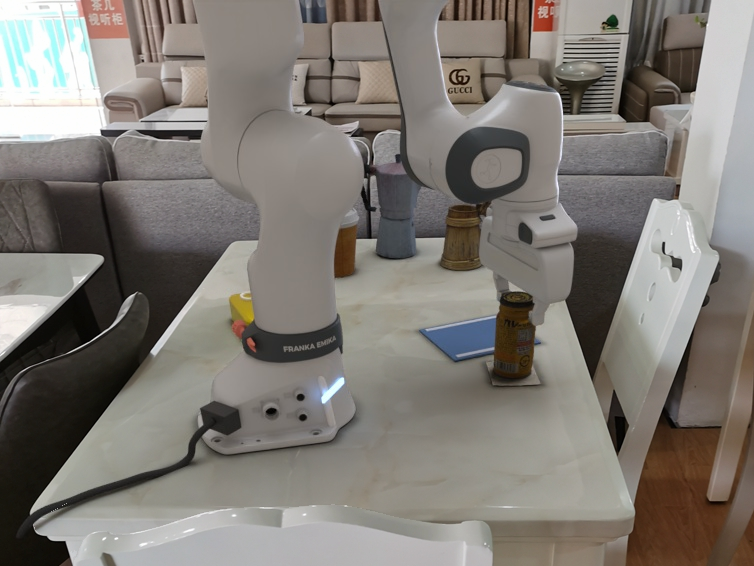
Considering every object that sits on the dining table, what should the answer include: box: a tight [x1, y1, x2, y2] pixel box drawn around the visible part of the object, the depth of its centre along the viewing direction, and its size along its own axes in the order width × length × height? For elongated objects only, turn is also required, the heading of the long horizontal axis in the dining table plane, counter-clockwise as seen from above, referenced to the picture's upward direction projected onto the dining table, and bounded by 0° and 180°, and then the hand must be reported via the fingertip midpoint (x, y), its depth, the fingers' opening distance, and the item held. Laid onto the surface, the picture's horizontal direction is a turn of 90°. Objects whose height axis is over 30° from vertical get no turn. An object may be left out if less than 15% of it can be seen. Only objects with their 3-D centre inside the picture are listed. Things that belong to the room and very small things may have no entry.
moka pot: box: [360, 153, 422, 259], centre depth 165 cm, size 10×15×20 cm, turn 89°
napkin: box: [418, 314, 542, 363], centre depth 133 cm, size 16×14×1 cm
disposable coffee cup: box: [334, 207, 360, 278], centre depth 158 cm, size 10×10×12 cm
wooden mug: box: [440, 200, 493, 271], centre depth 158 cm, size 9×14×18 cm, turn 89°
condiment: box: [485, 290, 541, 387], centre depth 118 cm, size 7×8×12 cm
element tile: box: [228, 290, 254, 326], centre depth 138 cm, size 15×15×5 cm
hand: (519, 312), depth 115 cm, fingers open, 8 cm apart
